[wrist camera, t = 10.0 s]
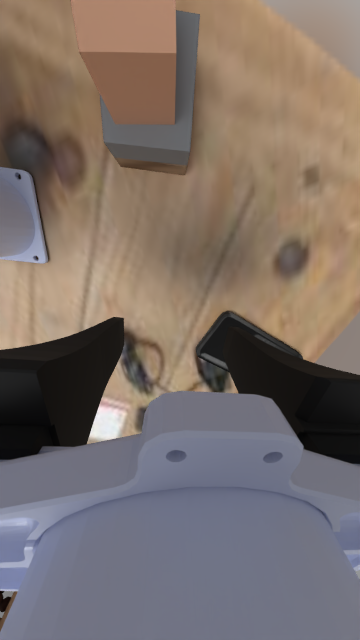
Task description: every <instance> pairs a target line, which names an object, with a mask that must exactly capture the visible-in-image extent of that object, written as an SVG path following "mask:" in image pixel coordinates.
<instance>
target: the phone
mask: <svg viewBox="0 0 360 640" xmlns="http://www.w3.org/2000/svg"><path fill="white" fill-rule="evenodd" d="M229 327H238V328H240V329H242V330H244V331H246V332H248V333H250V334H251V335H253V336H255V337H257V338H258V339H260V340H262V341H264V342H265V343H267V344H269V345H271V346H273V347H275V348H277V349H279V350H281V351H284V352H286V353H288V354H291V355H293V356H295V357H298V358H301V359H303V357H302V356H301V355H300V354H299V353H298V352H297V351H295V350H294V349H292V348H290V347H289V346H288V345H286V344H284V343H283V342H281V341H278V340H277V339H275V338H273V337H272V336H270V335H269V334H267V333H265V332H264V331H262V330H260V329H259V328H257V327H255V326H254V325H252V324H250V323H249V322H247V321H245V320H244V319H242V318H240V317H239V316H237V315H236V314H234V313H232V312H229V311H227V312H223V313H222V314H221V315H220V316H219V317H218V318H217V320H216V321H215V322H214V324H213V325H212V326H211V328H210V329H209V330H208V332H209V333H208V332H207V333H206V334H205V336H204V337H203V338H202V340H201V341H200V342H199V344H198V345H197V347H196V353H197V356H198V357H199V358H201V359H203V360H205V361H207V362H209V363H211V364H213V365H215V366H217V367H219V368H222V369H224V370H226V371H228V372H229V370H228V367H227V365H226V363H225V359H224V355H223V347H224V343H225V340H226V336H227V332H228V328H229Z"/></svg>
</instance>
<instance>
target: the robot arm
mask: <svg viewBox="0 0 360 640" xmlns="http://www.w3.org/2000/svg"><path fill="white" fill-rule="evenodd" d="M19 174H20V175H21V179H19V177H18V175H19ZM36 256H37V257H38V258H39V260H37V259H36ZM0 259H4V260H14V261H23V262H33V263H47V262H48V256H47V251H46V246H45V241H44V236H43V230H42V225H41V220H40V215H39V209H38V204H37V199H36V194H35V188H34V183H33V178H32V176H31V175H30V174H29V173H28V172H26V171H24V170H18V169H12V168H5V167H0ZM123 347H124V318H119V317H113V318H110V319H108V320H106V321H104V322H102V323H99V324H97V325H95V326H93V327H91V328H88V329H86V330H84V331H81V332H79V333H76V334H73V335H70V336H67V337H64V338H61V339H57V340H53V341H49V342H45V343H41V344H36V345H31V346H25V347H19V348H12V349H5V350H0V591H18V592H17V595H16V597H15V599H14V602H13V604H12V606H11V608H10V611H9V613H8V615H7V618H6V620H5V622H4V624H3V627H2V629H1V631H0V640H360V579H359V578H358V576H357V574H356V572H355V571H357V570H360V375H356V374H352V373H348V372H343V371H340V370H336V369H332V368H329V367H325V366H322V365H318V364H315V363H312V362H309V361H306V360H304V359H301V358H298V357H295V356H293V355H291V354H288V353H286V352H284V351H281V350H279V349H277V348H275V347H273V346H271V345H269V344H267V343H265V342H264V341H262V340H260V339H258V338H257V337H255V336H253V335H251V334H250V333H248V332H246V331H244V330H242V329H240V328H238V327H229V328H228V332H227V336H226V340H225V343H224V347H223V355H224V359H225V363H226V365H227V367H228V370H229V372H230V374H231V377H232V379H233V381H234V383H235V386H236V388H237V390H238V393H239V394H236V393H215V392H195V391H177V392H170V393H164V394H162V395H161V396H159V397H158V398H156V399H155V400H153V401H151V402H150V403H149V406H148V408H147V410H146V412H145V415H144V422H143V428H142V433H141V434H136V435H131V436H126V437H121V438H116V439H111V440H106V441H101V442H96V443H91V444H87V441H88V438H89V435H90V431H91V428H92V425H93V422H94V419H95V416H96V413H97V410H98V407H99V404H100V401H101V398H102V395H103V393H104V390H105V388H106V385H107V383H108V381H109V379H110V377H111V375H112V373H113V371H114V369H115V367H116V365H117V362H118V360H119V358H120V356H121V353H122V350H123Z"/></svg>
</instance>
